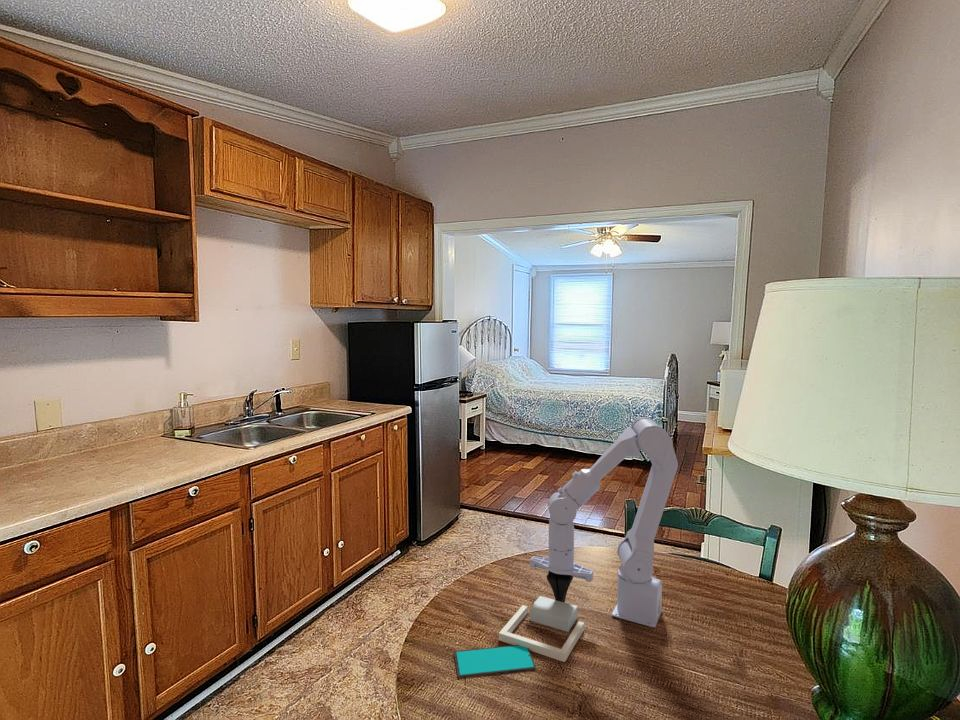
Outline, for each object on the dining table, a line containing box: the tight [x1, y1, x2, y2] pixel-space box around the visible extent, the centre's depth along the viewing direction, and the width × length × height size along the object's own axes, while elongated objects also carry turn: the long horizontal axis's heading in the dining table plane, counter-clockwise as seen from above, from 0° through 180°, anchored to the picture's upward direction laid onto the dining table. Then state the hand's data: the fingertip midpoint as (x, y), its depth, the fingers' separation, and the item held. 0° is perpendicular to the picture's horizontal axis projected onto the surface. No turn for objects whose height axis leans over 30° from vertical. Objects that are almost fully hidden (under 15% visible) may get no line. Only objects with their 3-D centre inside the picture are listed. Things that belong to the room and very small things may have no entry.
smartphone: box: [453, 644, 536, 679], centre depth 103 cm, size 7×1×15 cm
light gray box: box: [529, 595, 579, 633], centre depth 118 cm, size 9×6×3 cm, turn 61°
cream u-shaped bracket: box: [498, 604, 585, 663], centre depth 112 cm, size 14×12×2 cm
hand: (560, 603), depth 121 cm, fingers closed
